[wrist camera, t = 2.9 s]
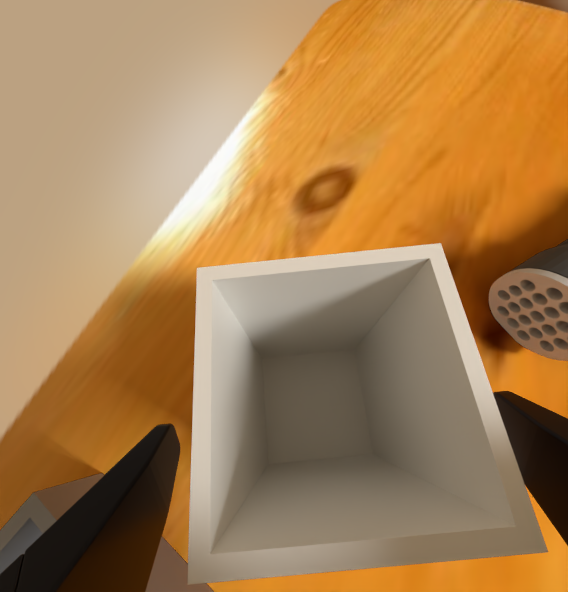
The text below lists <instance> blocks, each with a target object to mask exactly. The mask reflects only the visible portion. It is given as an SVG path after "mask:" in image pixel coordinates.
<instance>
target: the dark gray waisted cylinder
mask: <svg viewBox="0 0 568 592" xmlns="http://www.w3.org/2000/svg"><path fill="white" fill-rule="evenodd" d="M489 306H490V309H491V312H492V314H493V316H494V318H495V319H496V320H497V321H498V322H499V324H500V325H501V326H502V327H503V328H504V329H505V330H506V331H507V332H508V333H509V334H510V335H511V336H512V337H513V338H514V340H515V341H516V342H518V343H519V344H520V345H522V346H524V347H525V348H527V349H529V350H531V351H533V352H535V353H537V354H539V355H542V356H545V357H548V358H551V359H556V360H563V361H568V239H567V240H565V241H564V242H562V243H561V244H559V245H558V246H556V247H554V248H551V249H547V250H544V251H542V252H540V253H538V254H536V255H534V256H533V257H531V258H530V259H528V260H527V261H525V262H524V263H522V264H520V265H519V266H517V267H516V268H514V269H513V270H511V271H510V272H508V273H506V274H505V275H503V276H502V277H500V278H498V279H497V280H496V281H495V282H494V283H493V285H492V286H491V288H490V291H489Z"/></svg>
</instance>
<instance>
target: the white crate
mask: <svg viewBox="0 0 568 592" xmlns="http://www.w3.org/2000/svg"><path fill="white" fill-rule="evenodd" d="M544 552H548V550H547V547H546V545H545V542H544V539H543V536H542V533H541V530H540V527H539V524H538V522H537V519H536V516H535V513H534V510H533V507H532V504H531V501H530V498H529V496H528V493H527V490H526V487H525V484H524V481H523V478H522V475H521V473H520V470H519V467H518V464H517V461H516V458H515V455H514V452H513V450H512V447H511V444H510V441H509V438H508V435H507V432H506V429H505V427H504V424H503V421H502V418H501V415H500V412H499V409H498V406H497V404H496V401H495V398H494V395H493V392H492V389H491V386H490V383H489V381H488V378H487V375H486V372H485V369H484V366H483V363H482V360H481V357H480V355H479V352H478V349H477V346H476V343H475V340H474V337H473V334H472V332H471V329H470V326H469V323H468V320H467V317H466V314H465V311H464V309H463V306H462V303H461V300H460V297H459V294H458V291H457V288H456V286H455V283H454V280H453V277H452V274H451V271H450V268H449V265H448V263H447V260H446V257H445V254H444V251H443V248H442V245H441V243H438V244H428V245H418V246H409V247H399V248H389V249H379V250H369V251H359V252H349V253H340V254H330V255H320V256H310V257H300V258H290V259H280V260H271V261H261V262H251V263H241V264H231V265H221V266H211V267H201V268H197V286H196V319H195V352H194V385H193V418H192V451H191V484H190V517H189V550H188V583H187V585H190V584H201V583H212V582H223V581H234V580H245V579H256V578H267V577H278V576H289V575H300V574H311V573H323V572H334V571H345V570H356V569H367V568H378V567H389V566H400V565H411V564H422V563H433V562H444V561H455V560H466V559H477V558H488V557H499V556H511V555H522V554H533V553H544Z"/></svg>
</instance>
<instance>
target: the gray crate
mask: <svg viewBox="0 0 568 592" xmlns="http://www.w3.org/2000/svg"><path fill="white" fill-rule="evenodd" d="M103 476H104V475H103V474H102V473H100V474H96V475H93V476H89V477H86V478H82V479H79V480H75V481H72V482H68V483H65V484H61V485H58V486H54V487H51V488H47V489H44V490H40V491H37V492H33V494H32V495H31V496H30V497H29V498H28V499H27V500H26V502H25V503H24V504H23V505H22V506H21V507H20V508H19V510H18V511H17V512H16V513H15V514H14V515H13V516H12V518H11V519H10V520H9V521H8V522H7V523H6V524H5V526H4V527H3V528H2V529H1V530H0V574H1V573H2V572H3V571H4V570H5V569H6V568H7V567H8V566H9V565H10V564H11V563H12V562H13V561H14V560H15V559H17V558H18V557H19V556H20V555H21V554H24V553H25V550H26V549H27V548H28V547H29V546H30V545H31V544H32V543H34V542H35V541H36V540H37V539H38V538H39V537H40V536H41V535H42V534H43V533H44V532H45V531H46V530H47V529H48V528H49V527H50V526H51V525H52V524H54V523H55V522H56V521H57V520H58V519H59V518H60V517H61V516H62V515H63V514H64V513H65V512H66V511H67V510H68V509H69V508H70V507H71V506H72V505H74V504H75V503H76V502H77V501H78V500H79V499H80V498H81V497H82V496H83V495H84V494H85V493H86V492H87V491H88V490H89V489H90V488H91V487H92V486H94V485H95V484H96V483H97V482H98V481H99V480H100V479H101V478H102V477H103ZM187 583H188V564H187V563H186V562H185V561H184V560H183V558H182V557H181V556H180V555H179V554H178V553H177V552H176V551H175V550H174V549H173V548H172V547H171V546H170V545H169V544H168V543H167V541H166V540H165V539H164V538H163V537H161V540H160V544H159V547H158V550H157V554H156V557H155V561H154V564H153V568H152V571H151V574H150V578H149V581H148V585H147V588H146V592H214V591H213V590H212V589H211V588H210V587H209V586H208V585H207V584H206V583H201V584H190V585H187Z"/></svg>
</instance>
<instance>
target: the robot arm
mask: <svg viewBox="0 0 568 592" xmlns="http://www.w3.org/2000/svg"><path fill="white" fill-rule="evenodd" d="M493 395H494V398H495V401H496V404H497V406H498V409H499V412H500V415H501V418H502V421H503V424H504V427H505V429H506V432H507V435H508V438H509V441H510V444H511V447H512V450H513V452H514V455H515V458H516V461H517V464H518V467H519V470H520V473H521V475H522V478H523V481H524V484H525V485H526V487H527V488H528V490H529V491H530V493H531V494H532V496H533V497H534V498H535V500H536V501H537V503H538V504H539V505H540V507H541V508H542V510H543V511H544V513H545V514H546V515H547V517H548V518H549V520H550V521H551V523H552V524H553V525H554V527H555V528H556V530H557V531H558V533H559V534H560V535H561V537H562V538H563V540H564V541H565V542H566V544H567V545H568V419H567V418H565V417H563V416H561V415H559V414H557V413H555V412H552V411H550V410H548V409H546V408H544V407H542V406H540V405H537V404H535V403H533V402H531V401H529V400H527V399H525V398H523V397H520V396H518V395H516V394H514V393H512V392H509V391H501V392H494V393H493ZM179 455H180V443H179V440H178V437H177V434H176V431H175V427H174V425H173V424H160V425H157V426H156V427H155V428H154V429H152V430H151V431H150V432H149V433H148V434H147V435H146V436H145V437H144V438H143V439H142V440H141V441H140V442H139V443H138V444H137V445H136V446H135V447H134V448H132V449H131V450H130V451H129V452H128V453H127V454H126V455H125V456H124V457H123V458H122V459H121V460H120V461H119V462H118V463H117V464H116V465H115V466H114V467H112V468H111V469H110V470H109V471H108V472H107V473H106V474H105V475H104V476H103V477H102V478H101V479H100V480H99V481H98V482H97V483H96V484H95V485H94V486H92V487H91V488H90V489H89V490H88V491H87V492H86V493H85V494H84V495H83V496H82V497H81V498H80V499H79V500H78V501H77V502H76V503H75V504H74V505H72V506H71V507H70V508H69V509H68V510H67V511H66V512H65V513H64V514H63V515H62V516H61V517H60V518H59V519H58V520H57V521H56V522H55V523H54V524H52V525H51V526H50V527H49V528H48V529H47V530H46V531H45V532H44V533H43V534H42V535H41V536H40V537H39V538H38V539H37V540H36V541H35V542H34V543H32V544H31V545H30V546H29V547H28V548H27V549H26V550H25V553H24V554H21V555H20V556H19V557H18V558H17V559H15V560H14V561H13V562H12V563H11V564H10V565H9V566H8V567H7V568H6V569H5V570H4V571H3V572H2V573H1V574H0V592H146V588H147V585H148V581H149V578H150V574H151V571H152V568H153V564H154V561H155V557H156V554H157V550H158V547H159V544H160V540H161V537H162V533H163V530H164V526H165V523H166V519H167V516H168V512H169V507H170V502H171V497H172V492H173V487H174V481H175V476H176V471H177V466H178V461H179Z"/></svg>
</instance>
